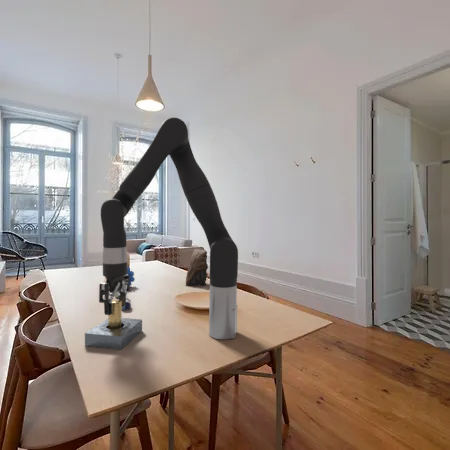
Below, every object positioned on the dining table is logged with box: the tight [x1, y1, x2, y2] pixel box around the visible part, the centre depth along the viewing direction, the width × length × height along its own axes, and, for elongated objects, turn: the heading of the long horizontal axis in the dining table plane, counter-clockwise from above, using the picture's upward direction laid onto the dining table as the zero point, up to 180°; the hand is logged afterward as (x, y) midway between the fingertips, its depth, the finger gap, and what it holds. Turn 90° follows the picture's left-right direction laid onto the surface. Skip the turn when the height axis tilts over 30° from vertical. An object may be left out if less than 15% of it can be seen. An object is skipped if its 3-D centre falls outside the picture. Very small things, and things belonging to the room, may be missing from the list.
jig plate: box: [84, 317, 143, 351], centre depth 93 cm, size 12×14×4 cm
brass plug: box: [107, 299, 123, 329], centre depth 93 cm, size 4×4×12 cm
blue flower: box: [125, 266, 135, 287], centre depth 155 cm, size 12×7×12 cm, turn 125°
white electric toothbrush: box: [114, 292, 132, 311], centre depth 131 cm, size 5×7×25 cm
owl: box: [185, 248, 209, 287], centre depth 166 cm, size 13×13×20 cm
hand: (115, 310), depth 93 cm, fingers open, 8 cm apart
